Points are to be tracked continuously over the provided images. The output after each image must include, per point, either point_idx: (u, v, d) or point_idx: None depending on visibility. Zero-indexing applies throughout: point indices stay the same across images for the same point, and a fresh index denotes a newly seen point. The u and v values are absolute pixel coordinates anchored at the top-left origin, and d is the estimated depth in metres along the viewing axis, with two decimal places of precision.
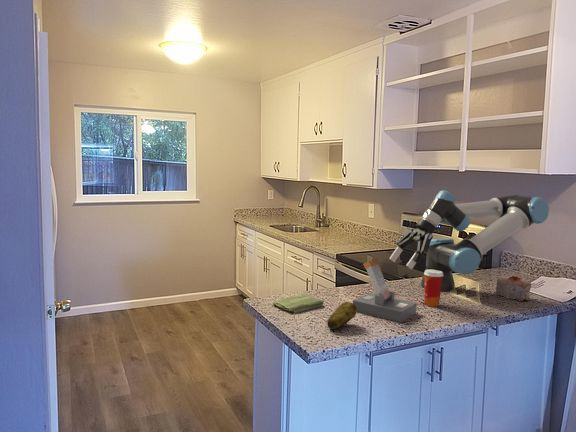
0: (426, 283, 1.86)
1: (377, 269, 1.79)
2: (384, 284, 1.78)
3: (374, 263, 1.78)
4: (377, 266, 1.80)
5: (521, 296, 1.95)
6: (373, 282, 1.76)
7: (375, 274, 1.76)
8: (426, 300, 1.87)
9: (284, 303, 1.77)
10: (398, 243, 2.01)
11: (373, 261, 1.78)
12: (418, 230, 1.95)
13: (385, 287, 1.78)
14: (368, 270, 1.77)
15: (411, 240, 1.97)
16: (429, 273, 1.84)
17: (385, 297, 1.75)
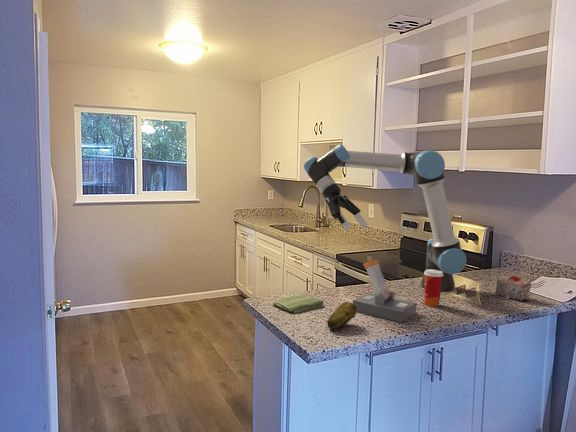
0: (426, 283, 1.86)
1: (377, 269, 1.79)
2: (384, 284, 1.78)
3: (374, 263, 1.78)
4: (377, 266, 1.80)
5: (521, 296, 1.95)
6: (373, 282, 1.76)
7: (375, 274, 1.76)
8: (426, 300, 1.87)
9: (284, 303, 1.77)
10: None
11: (373, 261, 1.78)
12: None
13: (385, 287, 1.78)
14: (368, 270, 1.77)
15: (345, 205, 1.94)
16: (429, 273, 1.84)
17: (385, 297, 1.75)
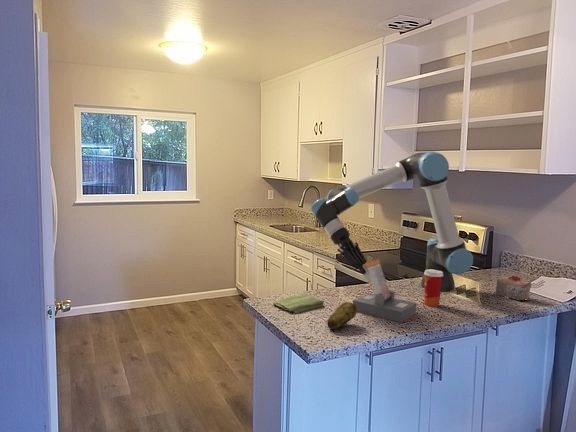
0: (426, 283, 1.86)
1: (378, 269, 1.78)
2: (385, 284, 1.78)
3: (375, 263, 1.77)
4: (378, 266, 1.79)
5: (521, 296, 1.95)
6: (374, 282, 1.76)
7: (376, 274, 1.76)
8: (426, 300, 1.87)
9: (284, 303, 1.77)
10: (360, 262, 1.84)
11: (375, 261, 1.78)
12: None
13: (385, 287, 1.78)
14: (369, 269, 1.76)
15: (352, 251, 1.84)
16: (429, 273, 1.84)
17: (385, 297, 1.75)
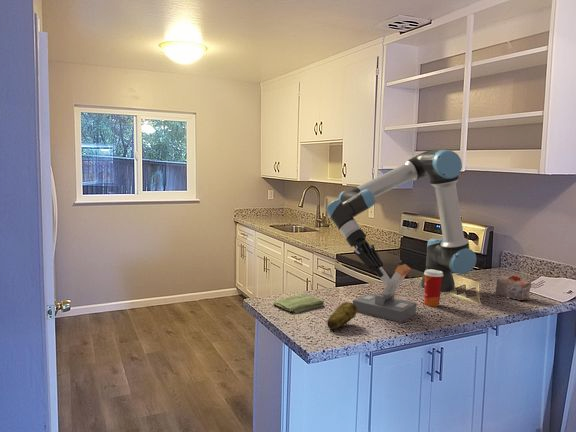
0: (426, 283, 1.86)
1: (402, 277, 1.72)
2: (395, 289, 1.75)
3: (405, 273, 1.70)
4: (405, 274, 1.73)
5: (521, 296, 1.95)
6: (389, 284, 1.72)
7: (397, 281, 1.71)
8: (426, 300, 1.87)
9: (284, 303, 1.77)
10: None
11: (406, 271, 1.70)
12: None
13: (393, 292, 1.76)
14: (395, 274, 1.70)
15: None
16: (429, 273, 1.84)
17: (385, 300, 1.75)
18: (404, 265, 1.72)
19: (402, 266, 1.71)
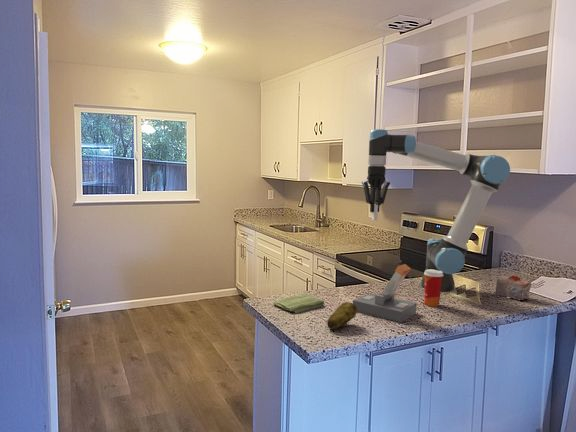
0: (426, 283, 1.86)
1: (402, 277, 1.72)
2: (395, 289, 1.75)
3: (405, 273, 1.70)
4: (405, 274, 1.73)
5: (522, 296, 1.95)
6: (389, 284, 1.72)
7: (397, 281, 1.71)
8: (426, 300, 1.87)
9: (285, 303, 1.77)
10: None
11: (406, 271, 1.70)
12: None
13: (393, 292, 1.76)
14: (395, 274, 1.70)
15: (377, 189, 2.00)
16: (429, 273, 1.84)
17: (385, 300, 1.75)
18: (404, 265, 1.72)
19: (402, 266, 1.71)
